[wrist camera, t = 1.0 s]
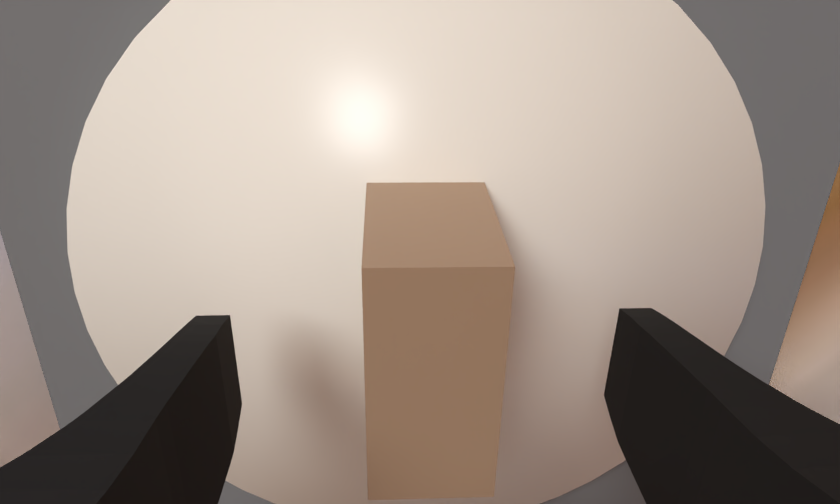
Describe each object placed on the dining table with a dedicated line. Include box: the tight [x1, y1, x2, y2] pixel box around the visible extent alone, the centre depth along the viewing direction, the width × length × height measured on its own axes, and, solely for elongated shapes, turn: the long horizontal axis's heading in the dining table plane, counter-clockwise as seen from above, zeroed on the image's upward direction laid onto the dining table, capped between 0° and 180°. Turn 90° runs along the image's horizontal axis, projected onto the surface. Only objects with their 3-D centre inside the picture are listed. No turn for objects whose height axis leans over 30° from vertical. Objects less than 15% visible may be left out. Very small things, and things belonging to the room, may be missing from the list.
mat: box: [0, 0, 840, 504], centre depth 15 cm, size 18×18×1 cm
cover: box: [66, 0, 765, 504], centre depth 13 cm, size 15×15×4 cm
